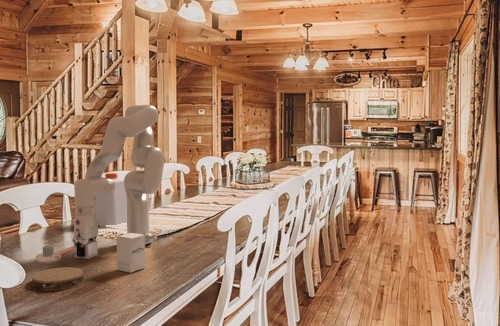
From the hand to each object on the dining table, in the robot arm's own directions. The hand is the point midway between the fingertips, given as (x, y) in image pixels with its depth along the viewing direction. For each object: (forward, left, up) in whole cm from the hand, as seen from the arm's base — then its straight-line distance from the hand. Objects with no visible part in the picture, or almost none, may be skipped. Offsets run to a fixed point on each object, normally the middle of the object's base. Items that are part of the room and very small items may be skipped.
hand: (86, 254), depth 197 cm
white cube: (0, 0, -1) cm, 1 cm away
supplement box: (-26, +10, -1) cm, 28 cm away
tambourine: (-10, +30, -2) cm, 32 cm away
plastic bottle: (+23, -56, -1) cm, 61 cm away
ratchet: (+10, +10, -1) cm, 14 cm away
